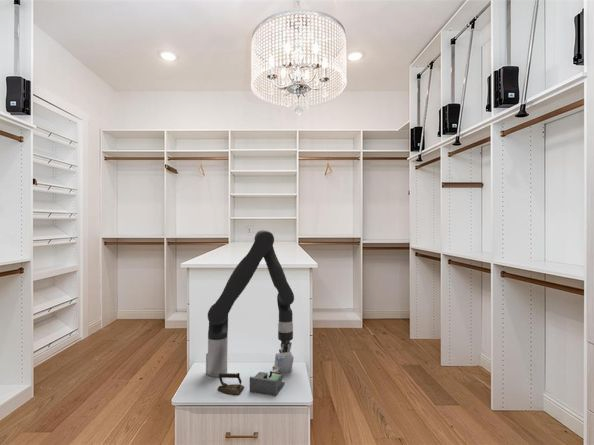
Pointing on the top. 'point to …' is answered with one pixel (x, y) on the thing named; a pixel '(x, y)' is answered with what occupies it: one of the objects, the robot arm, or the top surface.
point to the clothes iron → (230, 389)
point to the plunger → (275, 370)
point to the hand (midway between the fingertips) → (285, 364)
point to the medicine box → (284, 361)
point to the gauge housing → (266, 384)
